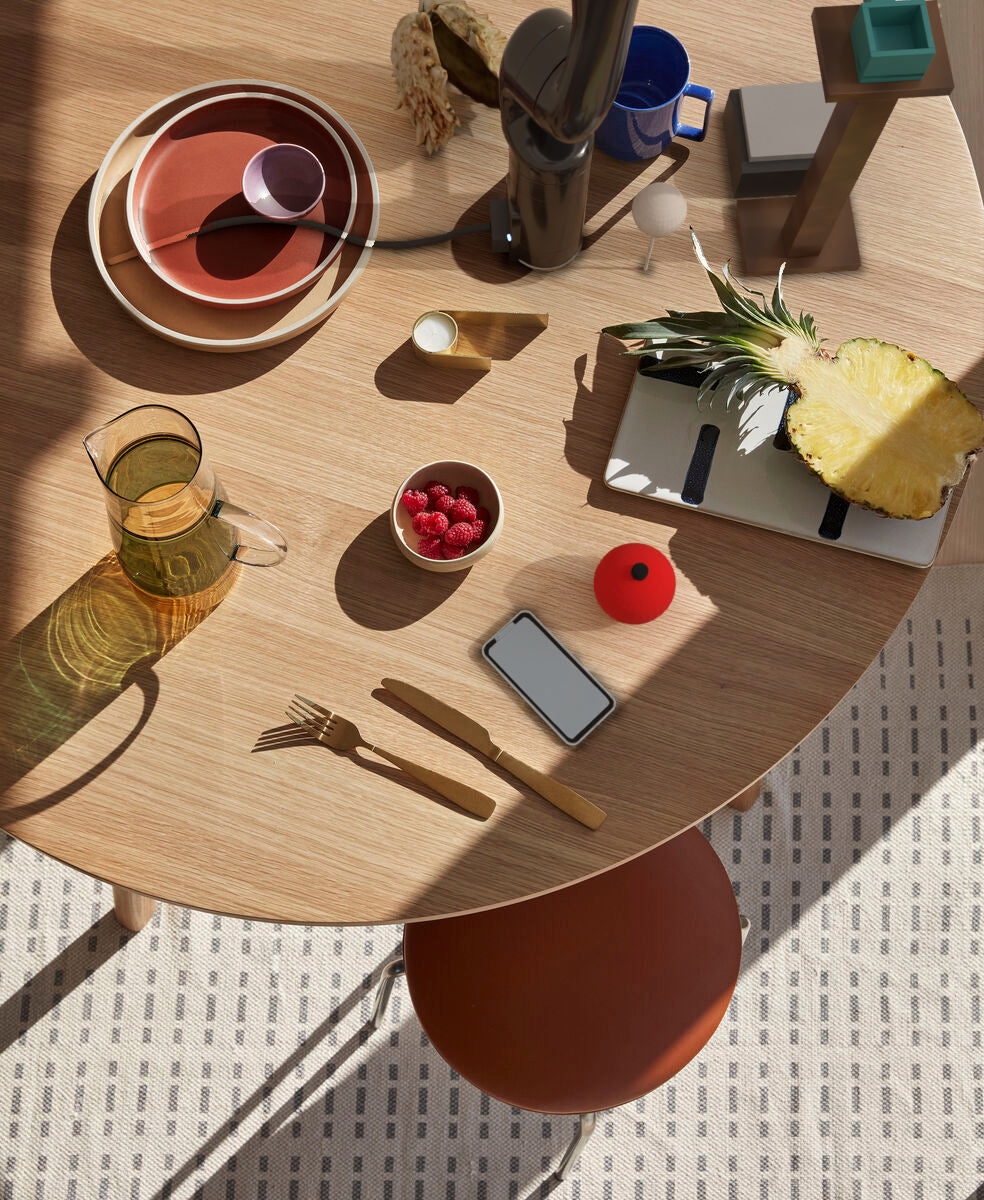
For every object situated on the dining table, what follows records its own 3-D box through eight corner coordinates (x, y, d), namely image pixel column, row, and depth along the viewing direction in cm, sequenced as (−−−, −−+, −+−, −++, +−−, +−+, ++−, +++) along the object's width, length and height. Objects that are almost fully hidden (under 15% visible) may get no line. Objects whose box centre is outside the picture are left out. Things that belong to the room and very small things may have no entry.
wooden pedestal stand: (744, 277, 135) (818, 95, 104) (734, 205, 137) (803, 7, 106) (858, 269, 135) (965, 86, 104) (846, 198, 137) (947, -2, 106)
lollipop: (672, 249, 136) (692, 173, 121) (669, 292, 134) (689, 220, 120) (621, 245, 136) (636, 168, 121) (618, 288, 134) (632, 215, 120)
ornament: (659, 642, 123) (672, 621, 114) (581, 620, 124) (588, 598, 114) (677, 567, 125) (692, 541, 116) (601, 547, 126) (609, 519, 116)
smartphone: (571, 749, 120) (477, 650, 122) (571, 750, 120) (477, 652, 123) (620, 703, 121) (525, 606, 123) (619, 704, 122) (525, 607, 124)
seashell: (436, 86, 120) (556, 50, 124) (368, -28, 125) (485, -58, 129) (427, 199, 137) (533, 165, 141) (366, 95, 142) (470, 65, 146)
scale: (733, 198, 138) (744, 168, 132) (722, 116, 141) (731, 83, 135) (845, 191, 138) (860, 161, 132) (831, 109, 141) (845, 76, 135)
